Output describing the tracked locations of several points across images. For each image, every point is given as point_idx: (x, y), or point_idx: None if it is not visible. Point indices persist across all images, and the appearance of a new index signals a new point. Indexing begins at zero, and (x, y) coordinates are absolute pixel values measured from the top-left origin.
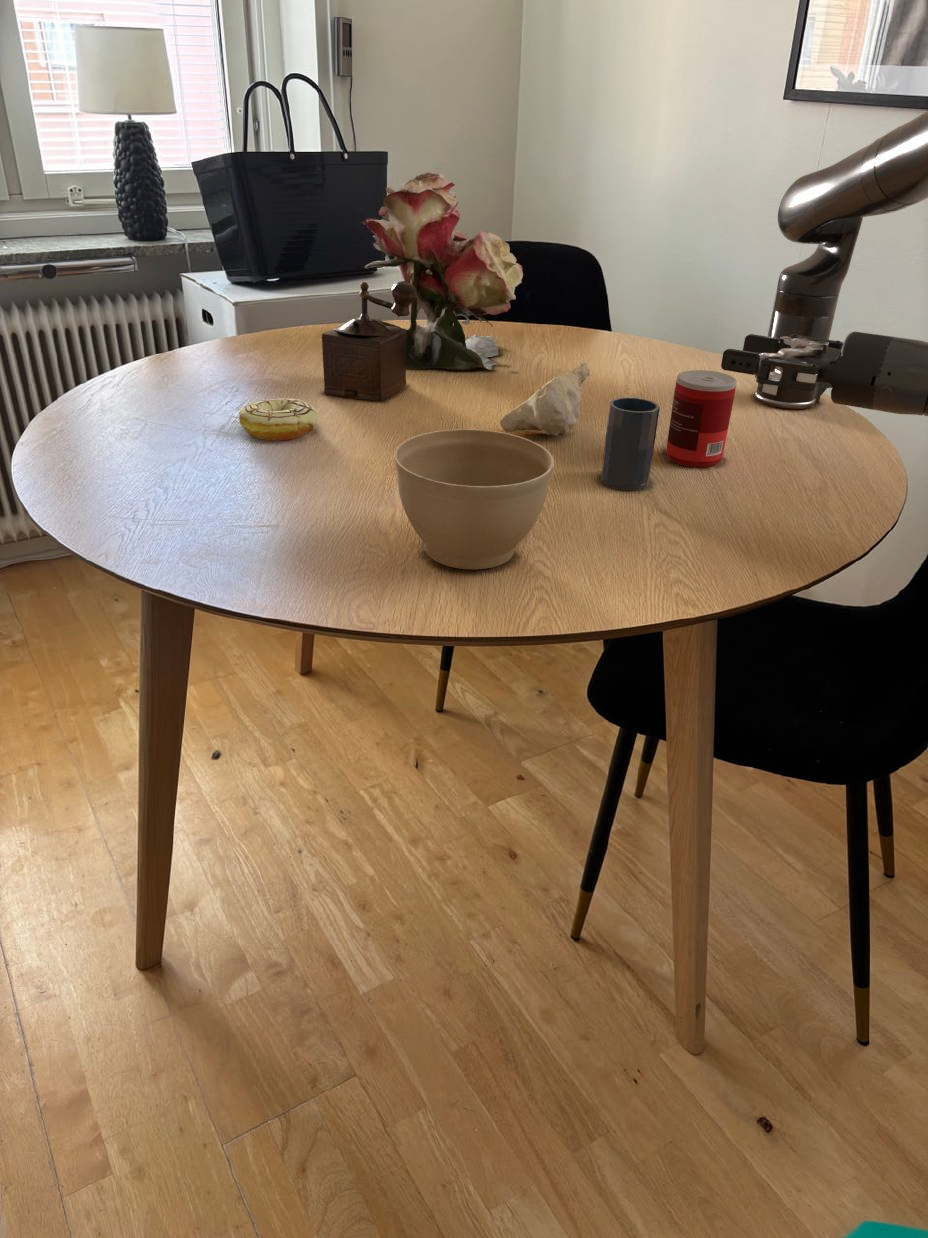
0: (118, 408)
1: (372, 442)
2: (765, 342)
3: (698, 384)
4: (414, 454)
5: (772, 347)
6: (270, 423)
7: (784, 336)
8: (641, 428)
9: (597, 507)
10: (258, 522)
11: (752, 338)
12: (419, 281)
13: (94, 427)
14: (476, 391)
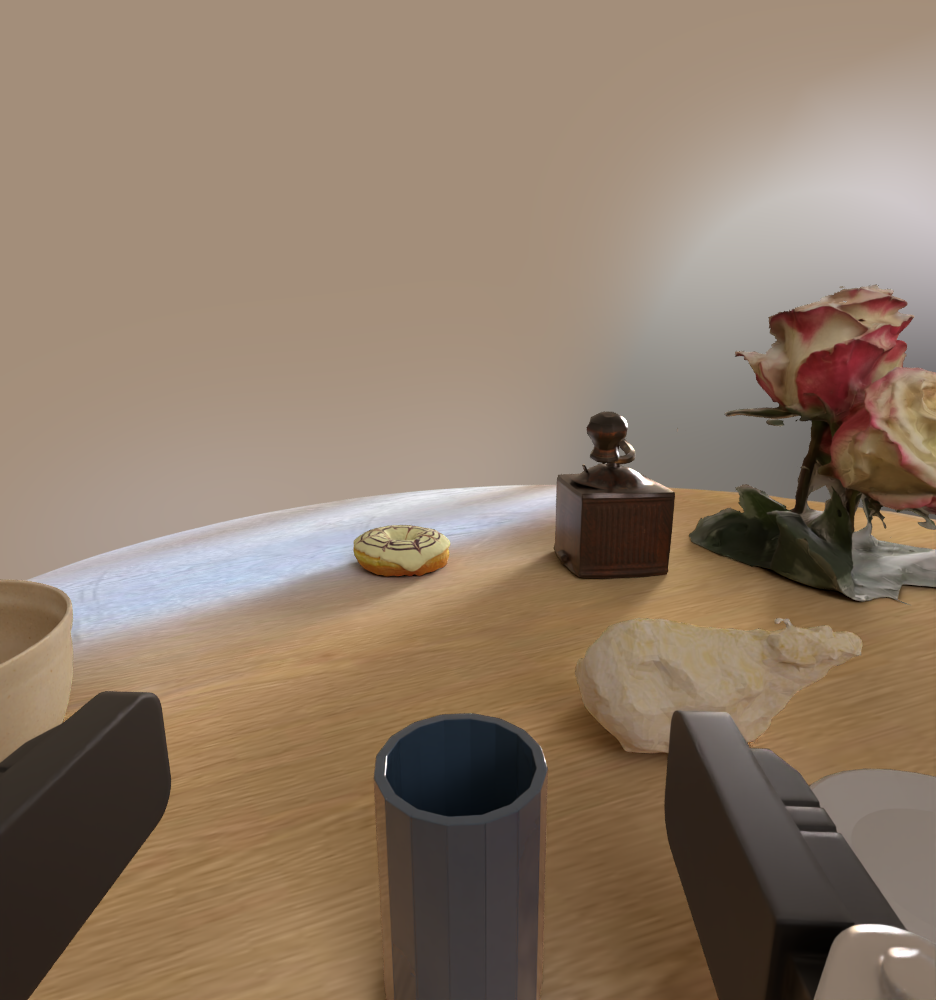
0: (392, 507)
1: (419, 614)
2: (721, 857)
3: (862, 858)
4: (10, 610)
5: (751, 963)
6: (355, 547)
7: (899, 956)
8: (388, 850)
9: (220, 981)
10: (89, 630)
11: (690, 753)
12: (820, 445)
13: (335, 514)
14: (744, 618)
